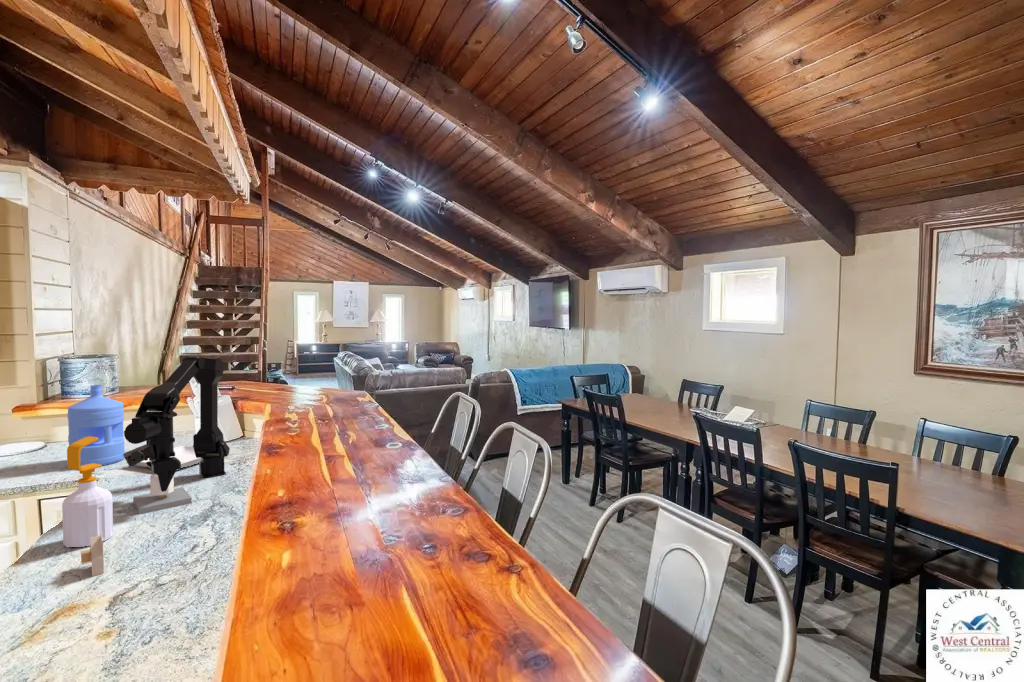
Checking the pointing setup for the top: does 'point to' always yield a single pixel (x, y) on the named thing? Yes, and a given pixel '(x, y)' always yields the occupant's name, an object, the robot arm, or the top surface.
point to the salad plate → (180, 456)
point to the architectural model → (94, 555)
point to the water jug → (98, 428)
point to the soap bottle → (86, 503)
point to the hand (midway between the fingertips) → (162, 488)
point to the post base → (161, 500)
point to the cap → (156, 487)
